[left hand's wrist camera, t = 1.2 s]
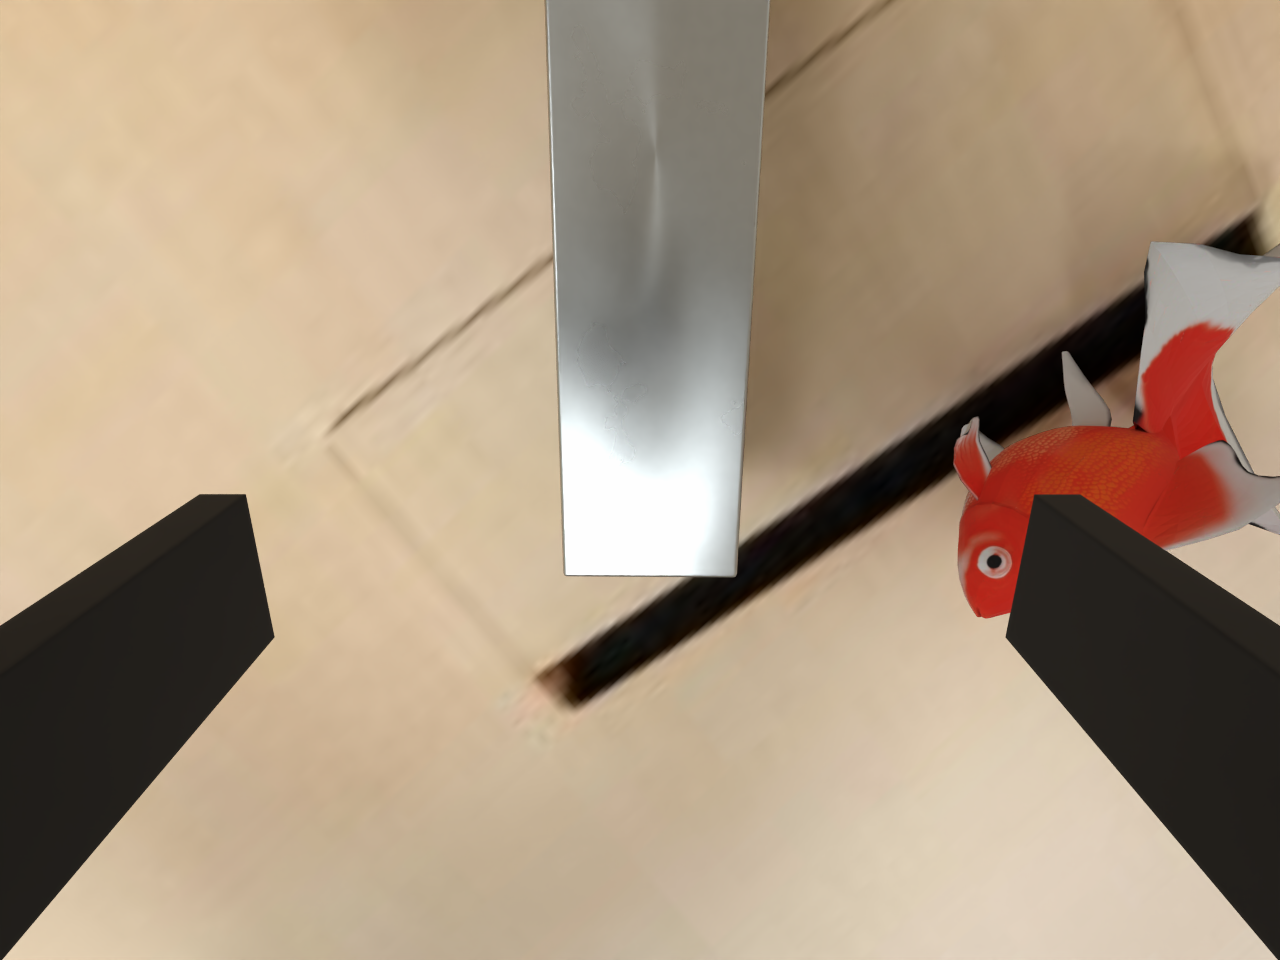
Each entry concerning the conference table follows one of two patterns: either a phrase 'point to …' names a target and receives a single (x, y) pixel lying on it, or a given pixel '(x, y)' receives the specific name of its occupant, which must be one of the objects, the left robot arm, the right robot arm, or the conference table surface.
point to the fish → (1131, 433)
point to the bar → (653, 275)
